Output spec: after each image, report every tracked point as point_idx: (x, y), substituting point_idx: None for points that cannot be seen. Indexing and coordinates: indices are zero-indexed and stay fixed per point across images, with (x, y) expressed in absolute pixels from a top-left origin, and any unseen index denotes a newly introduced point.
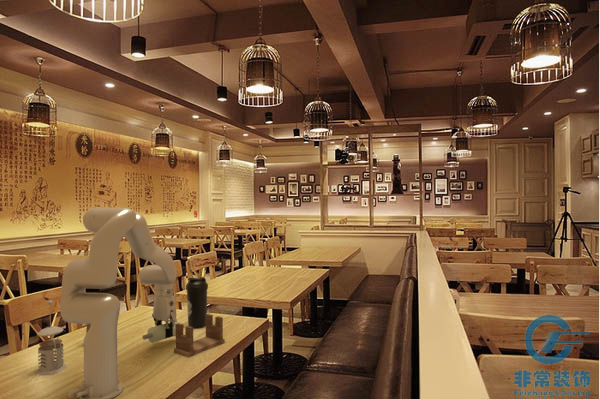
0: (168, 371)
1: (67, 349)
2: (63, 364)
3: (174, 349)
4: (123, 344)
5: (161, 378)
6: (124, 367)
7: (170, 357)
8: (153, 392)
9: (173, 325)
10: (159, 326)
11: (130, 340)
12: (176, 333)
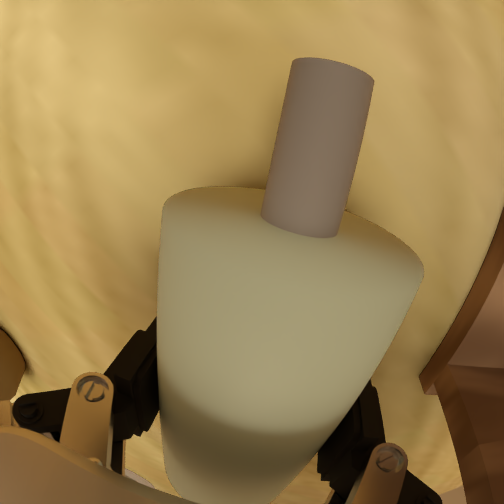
0: (451, 458)
1: (20, 390)
2: (126, 475)
3: (429, 390)
4: (63, 347)
5: (442, 475)
6: (289, 485)
7: (425, 414)
8: (442, 492)
9: (415, 480)
10: (241, 497)
11: (35, 295)
12: (467, 465)
